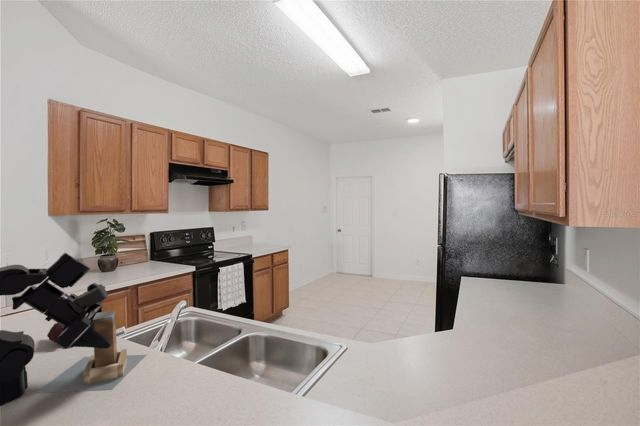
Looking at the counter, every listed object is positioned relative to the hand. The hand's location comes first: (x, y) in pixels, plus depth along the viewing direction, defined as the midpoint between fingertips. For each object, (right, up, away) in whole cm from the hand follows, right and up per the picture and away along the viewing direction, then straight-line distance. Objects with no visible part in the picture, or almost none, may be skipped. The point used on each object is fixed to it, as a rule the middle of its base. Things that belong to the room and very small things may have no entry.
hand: (112, 339), depth 79 cm
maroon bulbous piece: (-28, -9, +19) cm, 35 cm away
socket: (-1, -8, 0) cm, 8 cm away
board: (-4, -9, 0) cm, 10 cm away
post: (-1, -8, 0) cm, 8 cm away
